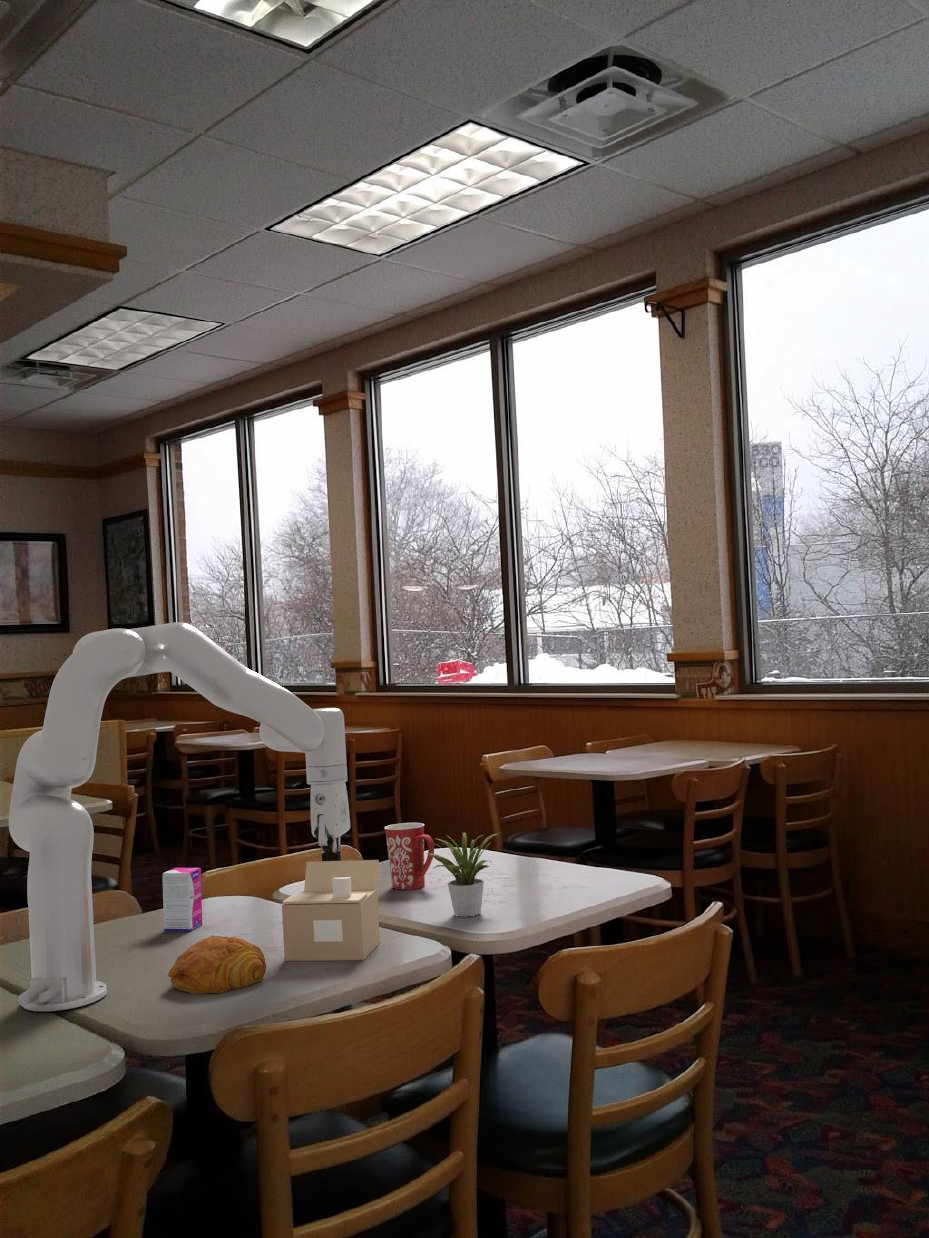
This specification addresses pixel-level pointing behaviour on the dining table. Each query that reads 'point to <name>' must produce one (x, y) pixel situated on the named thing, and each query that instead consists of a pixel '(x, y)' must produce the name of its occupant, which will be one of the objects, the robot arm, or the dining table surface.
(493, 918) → the dining table surface
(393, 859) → the mug
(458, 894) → the house plant
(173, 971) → the croissant
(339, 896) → the flap near
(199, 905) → the supplement box
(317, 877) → the flap far
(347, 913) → the carton
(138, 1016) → the dining table surface
